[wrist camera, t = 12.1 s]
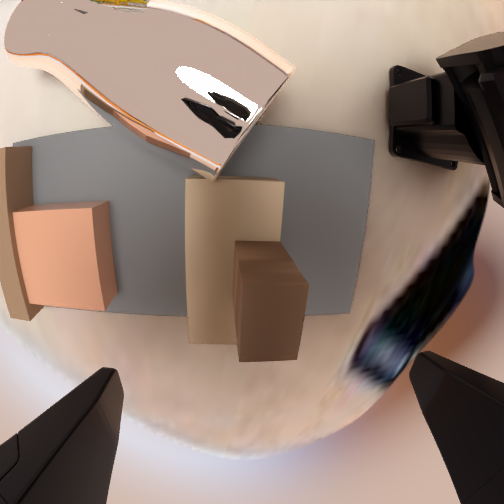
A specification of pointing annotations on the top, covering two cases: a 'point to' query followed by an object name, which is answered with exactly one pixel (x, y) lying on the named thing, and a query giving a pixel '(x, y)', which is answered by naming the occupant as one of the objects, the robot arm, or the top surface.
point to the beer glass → (154, 71)
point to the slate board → (173, 209)
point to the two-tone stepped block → (241, 268)
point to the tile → (66, 254)
